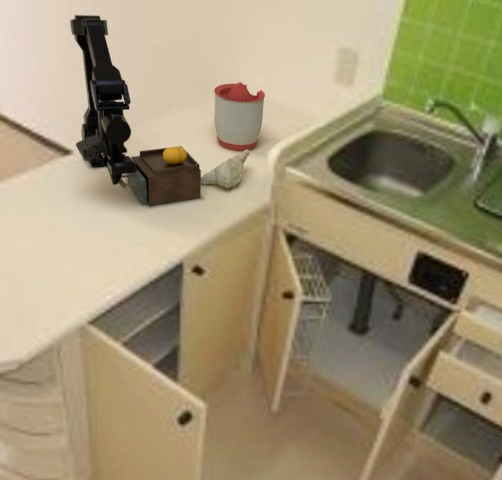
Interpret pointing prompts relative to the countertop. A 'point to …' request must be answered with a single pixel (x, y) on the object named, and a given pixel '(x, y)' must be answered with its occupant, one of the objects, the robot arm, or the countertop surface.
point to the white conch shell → (227, 171)
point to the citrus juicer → (238, 116)
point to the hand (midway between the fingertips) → (115, 184)
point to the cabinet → (170, 185)
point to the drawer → (136, 184)
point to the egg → (174, 155)
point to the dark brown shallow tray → (162, 168)
